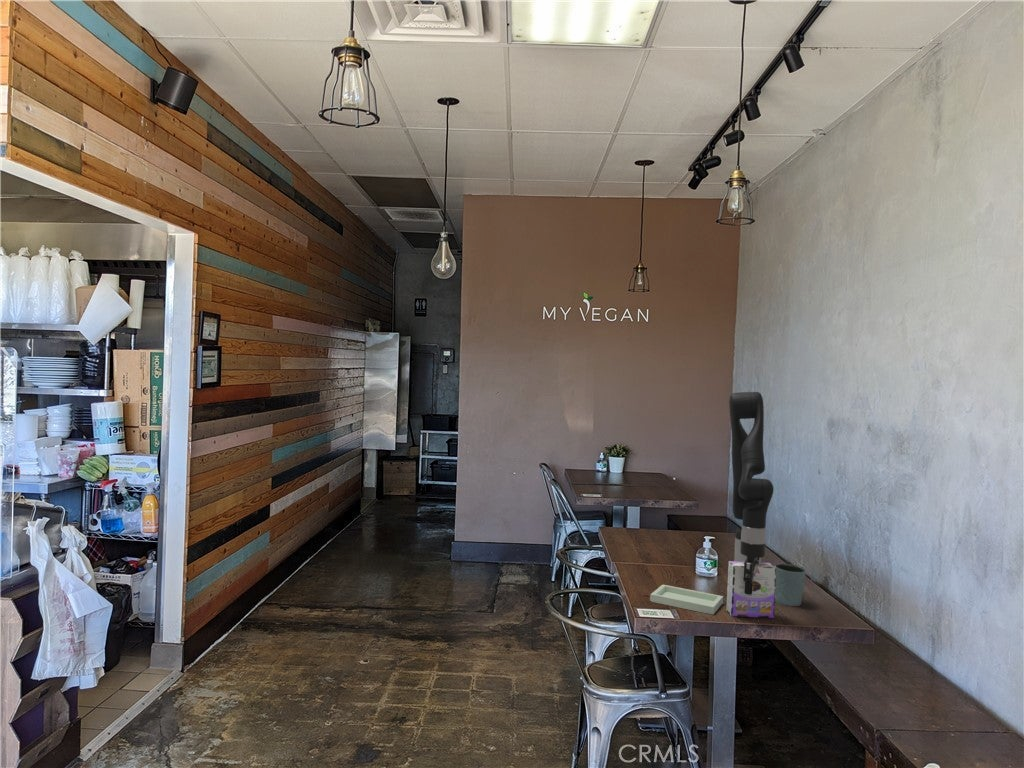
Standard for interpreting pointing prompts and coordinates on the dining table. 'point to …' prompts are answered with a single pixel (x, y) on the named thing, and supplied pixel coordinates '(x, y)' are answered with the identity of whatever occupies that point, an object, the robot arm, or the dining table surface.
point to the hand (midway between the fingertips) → (750, 590)
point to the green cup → (789, 584)
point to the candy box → (762, 591)
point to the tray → (687, 599)
